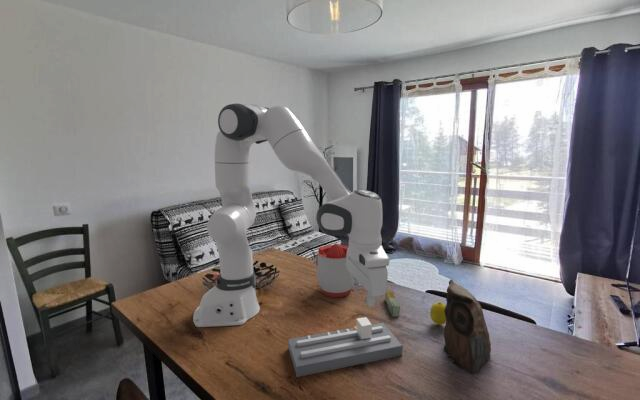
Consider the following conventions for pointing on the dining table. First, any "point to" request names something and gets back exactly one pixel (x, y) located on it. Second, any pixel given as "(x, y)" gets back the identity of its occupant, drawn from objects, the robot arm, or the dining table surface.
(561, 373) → the dining table surface
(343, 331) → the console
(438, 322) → the lemon
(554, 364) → the dining table surface
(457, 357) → the owl
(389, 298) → the medication box
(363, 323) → the fader
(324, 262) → the citrus juicer
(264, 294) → the dining table surface
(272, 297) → the dining table surface
